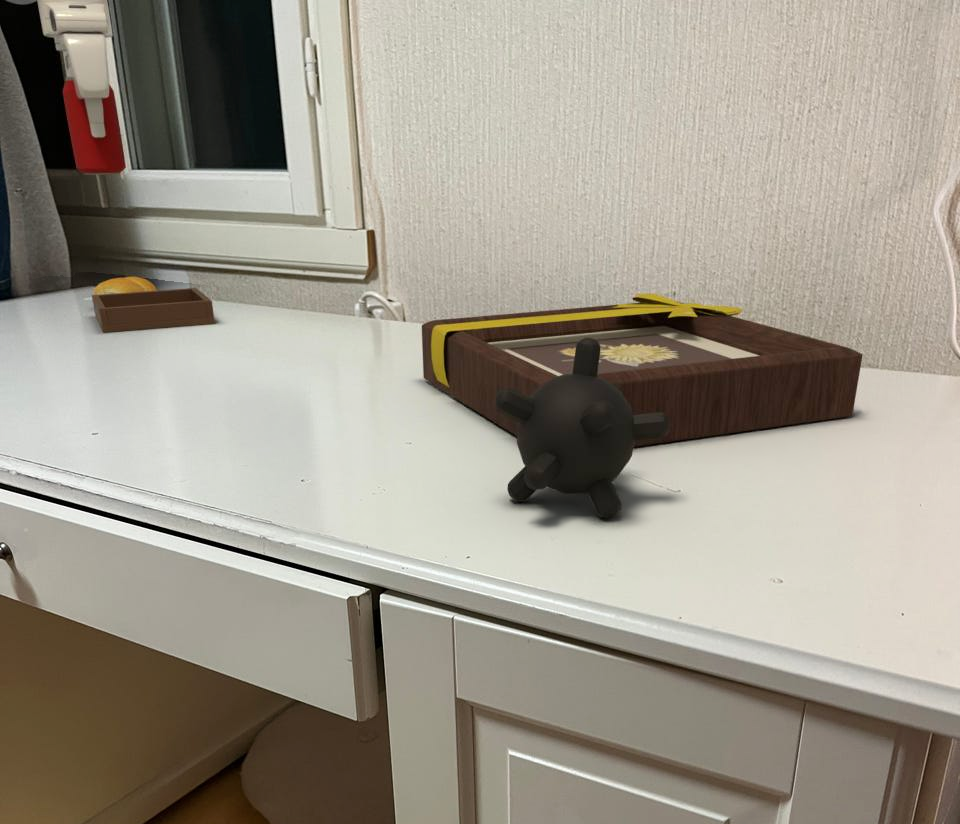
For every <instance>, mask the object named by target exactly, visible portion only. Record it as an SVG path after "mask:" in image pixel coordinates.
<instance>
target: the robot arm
mask: <svg viewBox="0 0 960 824" xmlns="http://www.w3.org/2000/svg"><path fill="white" fill-rule="evenodd" d="M5 1H6V2H9V3H11V4H16V5H30V4H33V3H35V2H37V6H38V12H39V18H40V23H41V30H42V34H43V36H44V37H47V38H53V39H54V44H55V50H56V51H57V52H62V55H63V62H64V63H63V64H64V68H65V75H66V77H73V80H74V85H75V90H76V94H77V97H78V98H79V99H84V100H85V106H86V110H87V114H88V119H89V125H90V131H91V135H92V136H93V137H104V136H105V128H104V118H103V105H102V99H104V98H107V97H108V96H109V84H110V76H109V75H110V74H109V64H108V63H109V62H108V52H107V51H108V50H107V49H108V48H107V39H108V38H112V37H114V36H113V29H112V22H111V21H112V20H111V17H110V16H111V15H110V10H109V3H108V0H5Z"/></svg>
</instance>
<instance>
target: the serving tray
mask: <svg viewBox="0 0 960 824" xmlns="http://www.w3.org/2000/svg"><path fill="white" fill-rule="evenodd" d="M157 290H158V289H157ZM91 299H92V300H93V302H92V305H93V310H94V315H95V318H96V320H97V322H98V324H99V326H100V328H101V330H102V333H115V332H127V331H129V332H130V331H140V330H153V329H165V328H179V327H188V326H201V325H214V324H215V323H216V322H215V314H214V307H213V301H212V300H211V298H209V297H208V296H207V295H205V294H204V293H203V292H202V291H201V290H200V289H198V288H197V287H190V288H174V289H160V290H158V291H144V292H129V293H114V294H100V295H92V294H91Z"/></svg>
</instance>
